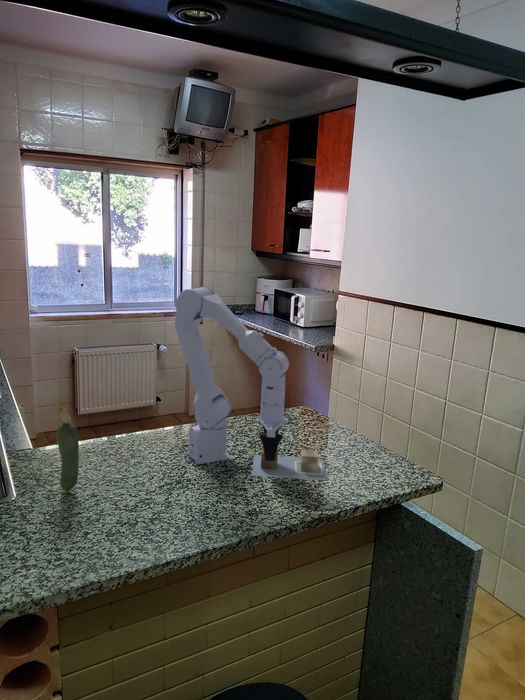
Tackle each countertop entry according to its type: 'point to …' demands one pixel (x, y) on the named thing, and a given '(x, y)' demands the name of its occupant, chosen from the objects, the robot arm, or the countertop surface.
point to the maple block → (309, 460)
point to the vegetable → (68, 450)
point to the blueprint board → (288, 469)
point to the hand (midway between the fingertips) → (269, 453)
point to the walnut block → (268, 464)
